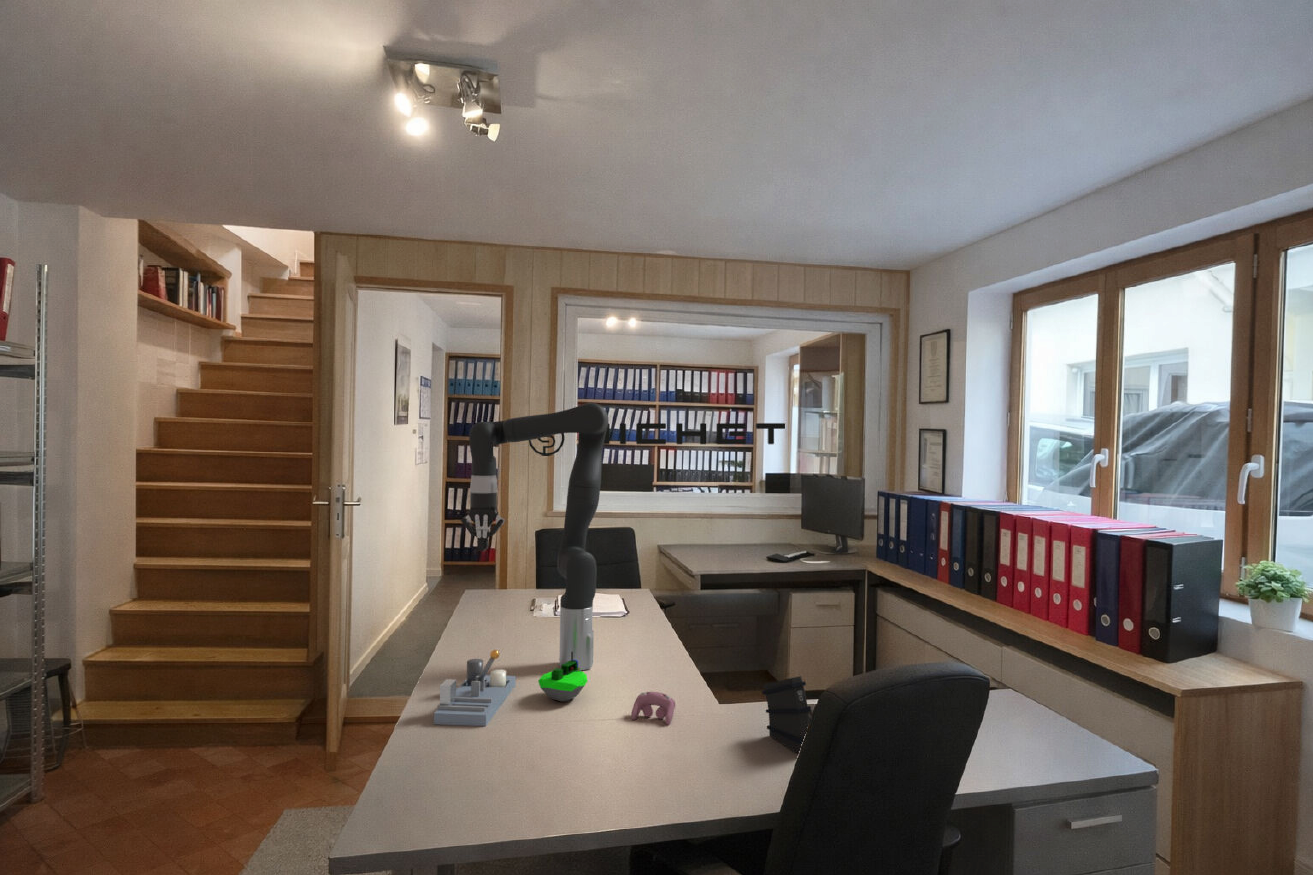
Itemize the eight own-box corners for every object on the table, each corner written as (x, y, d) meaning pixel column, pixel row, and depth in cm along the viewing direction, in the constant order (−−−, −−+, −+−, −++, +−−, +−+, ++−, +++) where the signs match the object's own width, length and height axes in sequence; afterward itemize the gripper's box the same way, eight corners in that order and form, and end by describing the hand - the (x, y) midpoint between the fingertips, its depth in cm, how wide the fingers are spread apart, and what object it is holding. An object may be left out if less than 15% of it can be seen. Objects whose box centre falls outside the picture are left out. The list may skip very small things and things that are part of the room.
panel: (515, 685, 186) (515, 662, 186) (485, 726, 160) (486, 699, 160) (470, 683, 186) (470, 661, 186) (433, 724, 160) (434, 697, 160)
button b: (484, 679, 182) (485, 658, 182) (480, 684, 178) (480, 663, 178) (469, 678, 182) (469, 658, 182) (464, 683, 178) (464, 663, 178)
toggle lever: (481, 686, 174) (502, 651, 174) (478, 689, 172) (499, 654, 171) (474, 681, 174) (494, 646, 174) (470, 685, 172) (491, 649, 171)
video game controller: (674, 726, 165) (678, 695, 168) (669, 724, 161) (673, 692, 164) (634, 721, 168) (639, 690, 171) (628, 718, 164) (633, 687, 167)
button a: (507, 689, 182) (507, 669, 182) (503, 695, 178) (503, 674, 178) (492, 689, 182) (492, 669, 182) (487, 695, 178) (488, 674, 178)
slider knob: (456, 700, 167) (456, 679, 167) (450, 707, 163) (450, 685, 163) (446, 700, 167) (446, 679, 167) (439, 706, 163) (440, 685, 163)
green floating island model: (556, 688, 185) (556, 645, 185) (595, 695, 179) (595, 651, 180) (529, 703, 174) (529, 658, 174) (569, 711, 169) (569, 664, 169)
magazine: (808, 754, 144) (789, 678, 150) (772, 757, 155) (756, 686, 160) (823, 750, 146) (803, 675, 152) (786, 754, 157) (769, 684, 162)
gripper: (457, 491, 202) (456, 552, 202) (502, 492, 201) (501, 553, 201) (465, 489, 209) (464, 547, 209) (509, 490, 208) (508, 549, 208)
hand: (482, 550), depth 205 cm, fingers closed
